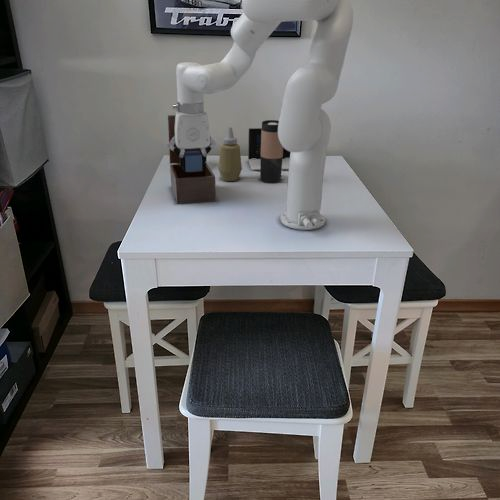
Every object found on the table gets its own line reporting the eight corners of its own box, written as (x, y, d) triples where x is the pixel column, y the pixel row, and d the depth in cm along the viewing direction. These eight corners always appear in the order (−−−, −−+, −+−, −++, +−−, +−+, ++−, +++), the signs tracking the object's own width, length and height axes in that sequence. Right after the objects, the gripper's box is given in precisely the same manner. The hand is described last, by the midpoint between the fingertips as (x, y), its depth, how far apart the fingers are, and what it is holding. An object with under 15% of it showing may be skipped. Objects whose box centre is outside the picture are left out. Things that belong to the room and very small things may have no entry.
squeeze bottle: (244, 181, 165) (245, 129, 157) (222, 183, 162) (222, 131, 154) (236, 174, 171) (237, 124, 163) (215, 176, 169) (214, 125, 160)
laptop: (251, 171, 175) (252, 136, 169) (247, 161, 186) (248, 128, 180) (299, 170, 177) (301, 135, 171) (292, 160, 188) (294, 127, 182)
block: (202, 171, 144) (201, 155, 142) (186, 172, 143) (185, 156, 141) (199, 166, 149) (199, 150, 146) (183, 167, 147) (183, 151, 145)
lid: (206, 114, 147) (204, 108, 151) (168, 116, 144) (166, 109, 148) (206, 161, 156) (203, 154, 160) (170, 163, 154) (168, 156, 157)
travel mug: (281, 176, 170) (284, 120, 161) (281, 183, 163) (284, 125, 154) (260, 175, 171) (262, 119, 161) (258, 182, 164) (260, 124, 155)
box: (215, 201, 148) (215, 176, 144) (177, 204, 145) (175, 179, 141) (206, 185, 161) (206, 162, 157) (171, 187, 158) (170, 164, 154)
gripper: (162, 111, 132) (166, 174, 141) (222, 109, 136) (222, 170, 145) (160, 106, 139) (163, 166, 147) (217, 105, 143) (217, 163, 151)
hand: (192, 168), depth 146 cm, fingers closed on block, 5 cm apart
